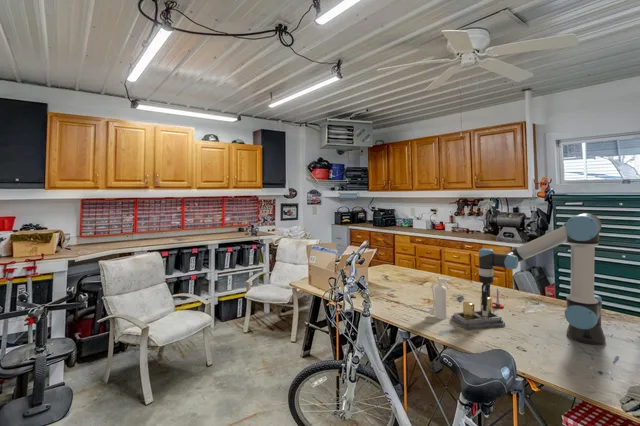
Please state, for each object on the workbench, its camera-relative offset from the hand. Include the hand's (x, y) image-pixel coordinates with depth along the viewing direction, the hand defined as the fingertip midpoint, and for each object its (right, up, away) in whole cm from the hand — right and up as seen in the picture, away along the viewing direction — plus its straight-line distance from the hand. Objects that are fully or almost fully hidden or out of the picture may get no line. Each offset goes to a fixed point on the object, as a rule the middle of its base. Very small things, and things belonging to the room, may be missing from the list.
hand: (486, 313), depth 181 cm
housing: (-5, -5, 0) cm, 7 cm away
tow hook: (+19, -3, +24) cm, 31 cm away
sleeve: (0, 0, 0) cm, 0 cm away
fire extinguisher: (-24, -5, +9) cm, 26 cm away
